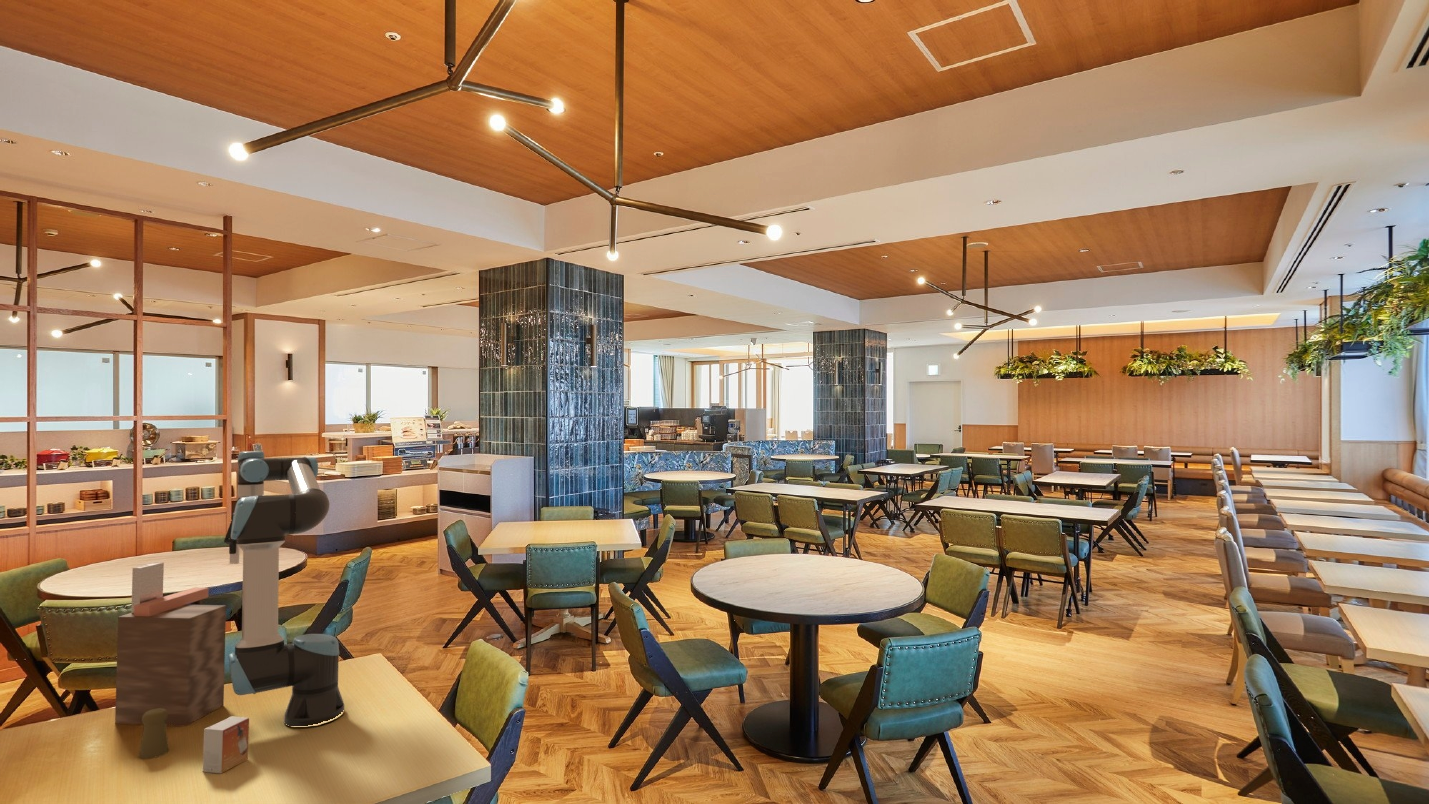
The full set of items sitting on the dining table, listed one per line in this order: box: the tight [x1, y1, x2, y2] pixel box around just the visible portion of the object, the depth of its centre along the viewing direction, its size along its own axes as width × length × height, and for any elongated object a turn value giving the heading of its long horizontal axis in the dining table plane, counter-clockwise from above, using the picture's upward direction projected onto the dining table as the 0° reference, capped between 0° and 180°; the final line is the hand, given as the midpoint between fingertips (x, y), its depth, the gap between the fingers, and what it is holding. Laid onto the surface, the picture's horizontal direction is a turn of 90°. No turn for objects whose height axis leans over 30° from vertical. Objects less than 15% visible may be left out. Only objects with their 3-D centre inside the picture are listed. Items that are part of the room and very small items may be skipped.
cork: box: [138, 708, 170, 760], centre depth 182 cm, size 6×6×11 cm
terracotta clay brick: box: [134, 586, 210, 616], centre depth 212 cm, size 22×4×3 cm, turn 177°
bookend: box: [130, 561, 165, 613], centre depth 208 cm, size 8×2×13 cm, turn 177°
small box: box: [202, 715, 250, 774], centre depth 176 cm, size 8×6×10 cm
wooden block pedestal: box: [114, 604, 227, 727], centre depth 206 cm, size 14×21×30 cm, turn 87°
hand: (248, 559), depth 239 cm, fingers open, 13 cm apart
